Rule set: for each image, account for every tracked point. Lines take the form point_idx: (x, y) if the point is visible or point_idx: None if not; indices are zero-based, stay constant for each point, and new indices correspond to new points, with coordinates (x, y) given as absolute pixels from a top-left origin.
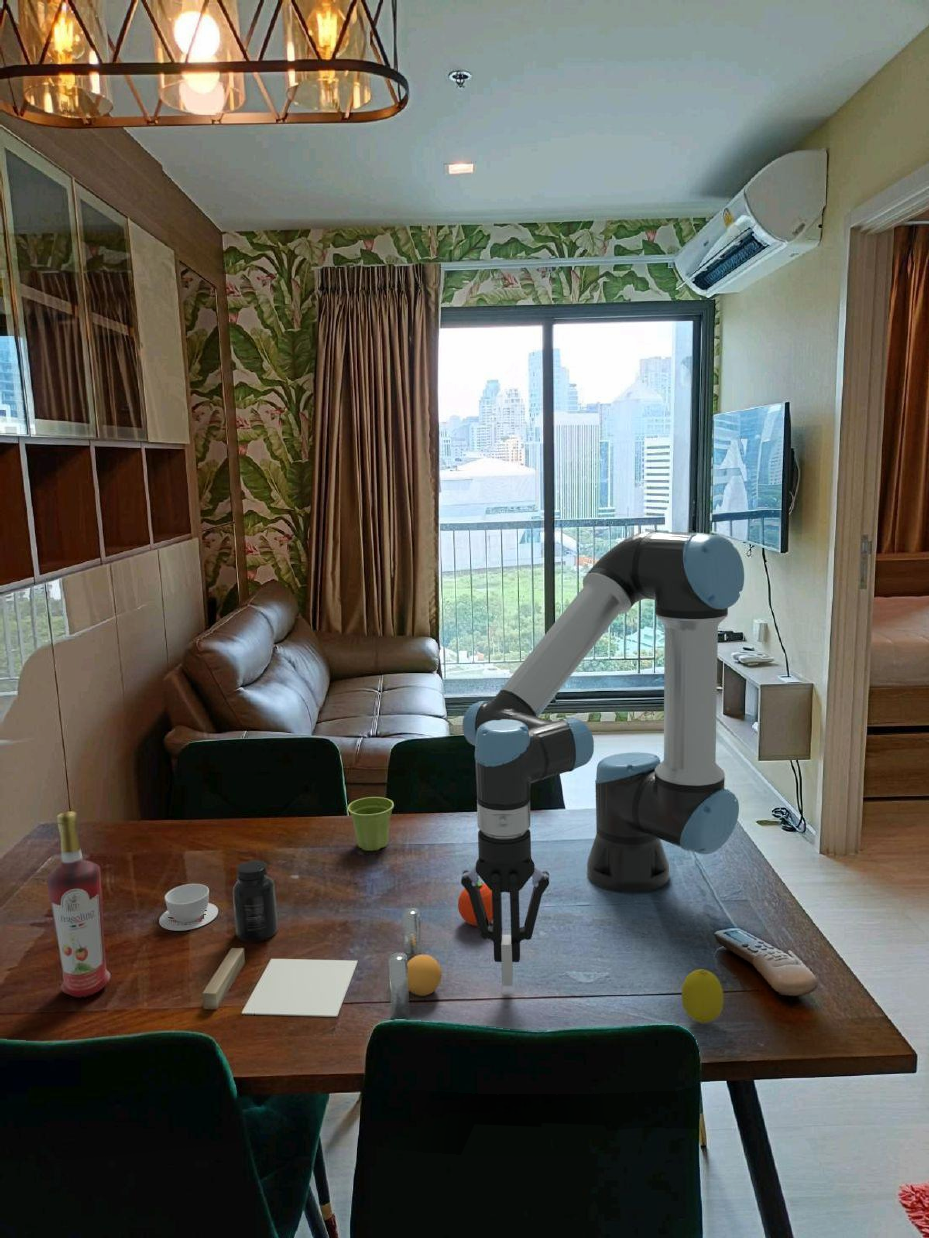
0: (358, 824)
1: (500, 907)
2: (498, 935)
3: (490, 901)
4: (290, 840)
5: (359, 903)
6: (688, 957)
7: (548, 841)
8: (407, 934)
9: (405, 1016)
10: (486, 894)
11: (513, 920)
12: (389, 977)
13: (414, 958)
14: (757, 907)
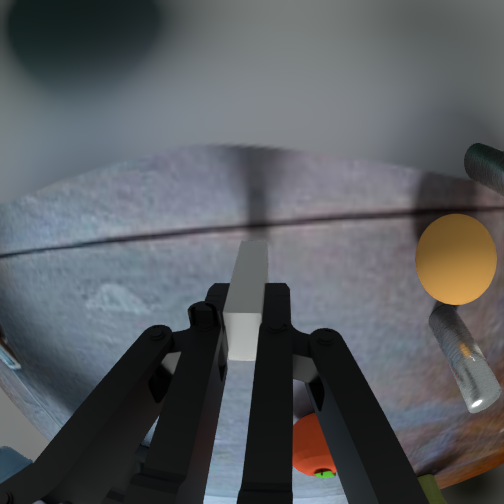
0: (439, 496)
1: (247, 449)
2: (269, 339)
3: (299, 450)
4: (483, 461)
5: (466, 418)
6: (20, 329)
7: (233, 496)
8: (481, 355)
9: (474, 147)
10: (306, 461)
11: (193, 388)
12: None
13: (488, 281)
14: (13, 389)
